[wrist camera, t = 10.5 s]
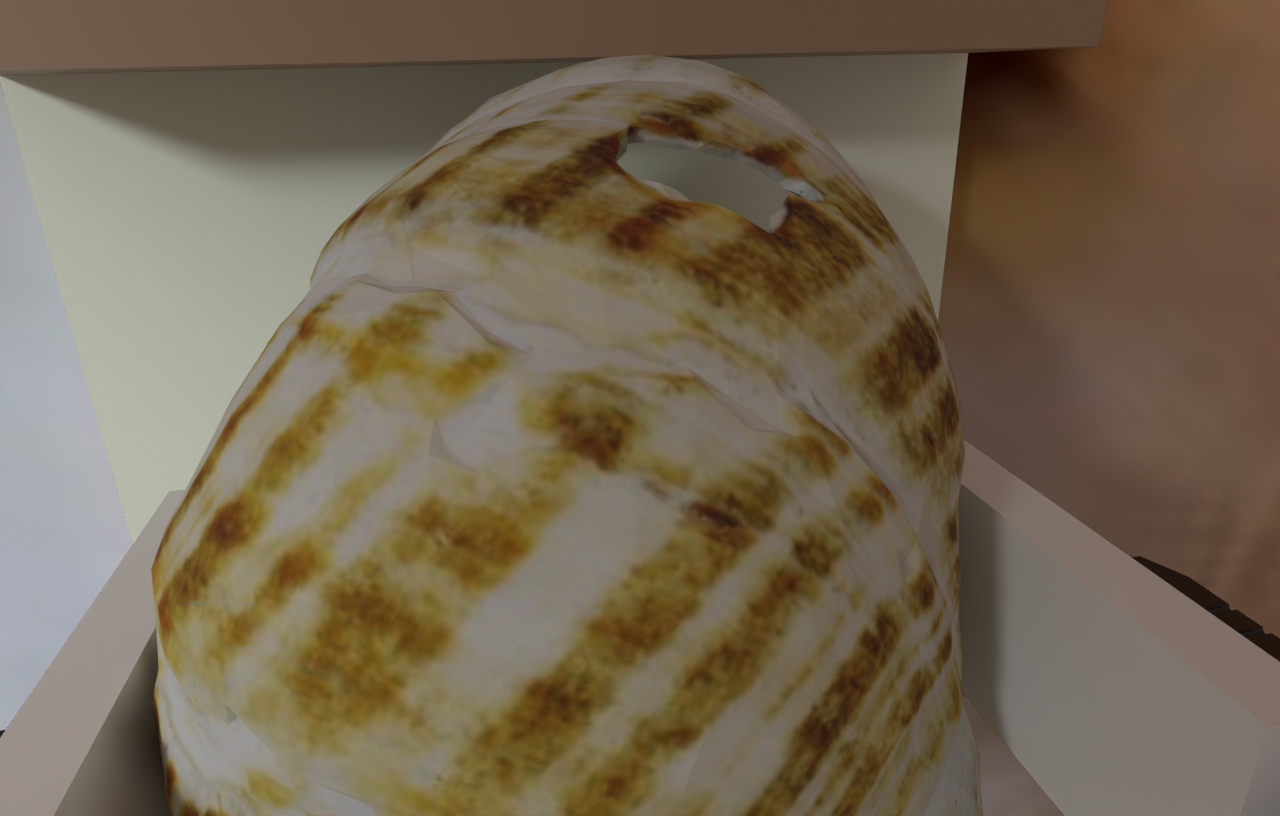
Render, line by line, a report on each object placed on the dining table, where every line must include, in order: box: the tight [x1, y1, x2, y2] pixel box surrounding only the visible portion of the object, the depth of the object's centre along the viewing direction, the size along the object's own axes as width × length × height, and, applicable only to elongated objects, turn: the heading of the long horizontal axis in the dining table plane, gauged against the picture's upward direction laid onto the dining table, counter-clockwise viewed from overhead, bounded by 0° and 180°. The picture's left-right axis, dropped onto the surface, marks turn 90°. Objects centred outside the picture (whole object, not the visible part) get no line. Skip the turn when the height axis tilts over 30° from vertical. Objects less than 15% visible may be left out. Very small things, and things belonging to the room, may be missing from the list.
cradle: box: [0, 0, 1107, 544], centre depth 14 cm, size 14×15×4 cm
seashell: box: [151, 54, 983, 816], centre depth 9 cm, size 10×10×10 cm
